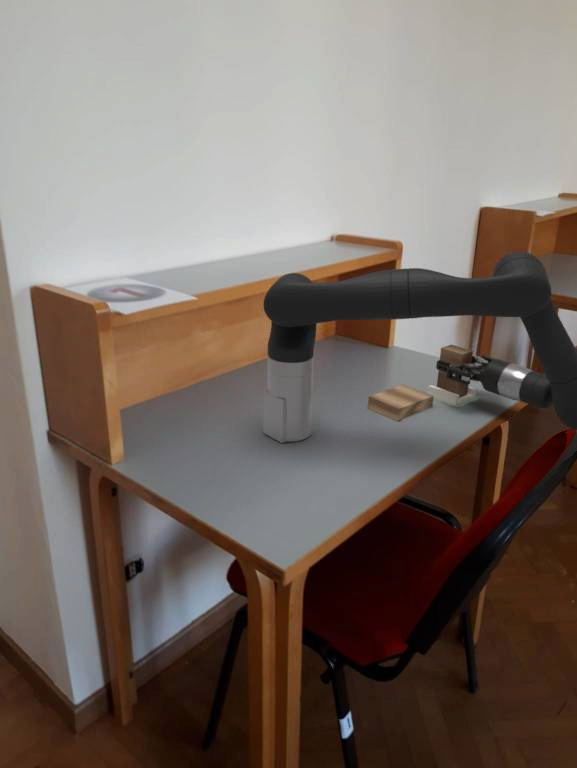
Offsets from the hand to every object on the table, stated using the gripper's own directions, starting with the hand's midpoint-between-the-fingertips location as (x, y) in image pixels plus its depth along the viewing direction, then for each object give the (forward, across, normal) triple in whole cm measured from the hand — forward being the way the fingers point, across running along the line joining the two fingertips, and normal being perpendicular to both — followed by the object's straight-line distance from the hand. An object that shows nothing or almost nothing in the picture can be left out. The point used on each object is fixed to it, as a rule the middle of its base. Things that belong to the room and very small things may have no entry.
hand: (448, 360), depth 151 cm
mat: (-2, 0, +9) cm, 9 cm away
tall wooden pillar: (-2, 0, +8) cm, 8 cm away
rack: (-2, 0, +8) cm, 9 cm away
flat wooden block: (+2, +14, +9) cm, 17 cm away
